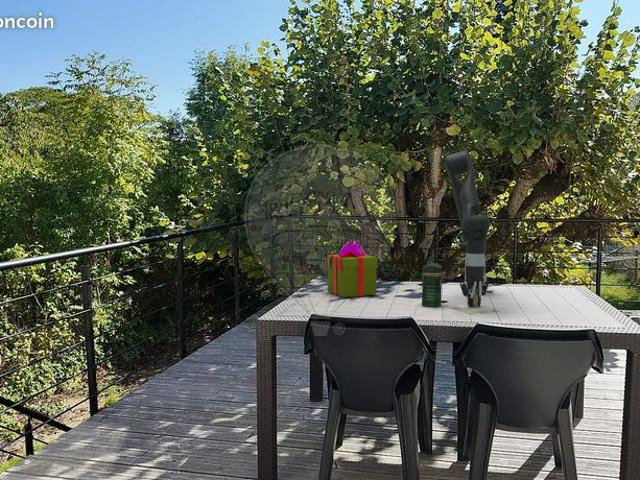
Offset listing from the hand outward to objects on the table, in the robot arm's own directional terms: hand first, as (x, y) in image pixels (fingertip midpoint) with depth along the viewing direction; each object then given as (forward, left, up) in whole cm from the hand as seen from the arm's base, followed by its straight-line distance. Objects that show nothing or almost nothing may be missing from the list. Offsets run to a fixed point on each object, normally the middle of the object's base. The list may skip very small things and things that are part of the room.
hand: (474, 306), depth 233 cm
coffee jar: (+10, -15, -2) cm, 18 cm away
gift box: (+26, -57, -2) cm, 63 cm away
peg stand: (0, 0, -1) cm, 1 cm away
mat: (0, 0, -2) cm, 2 cm away
